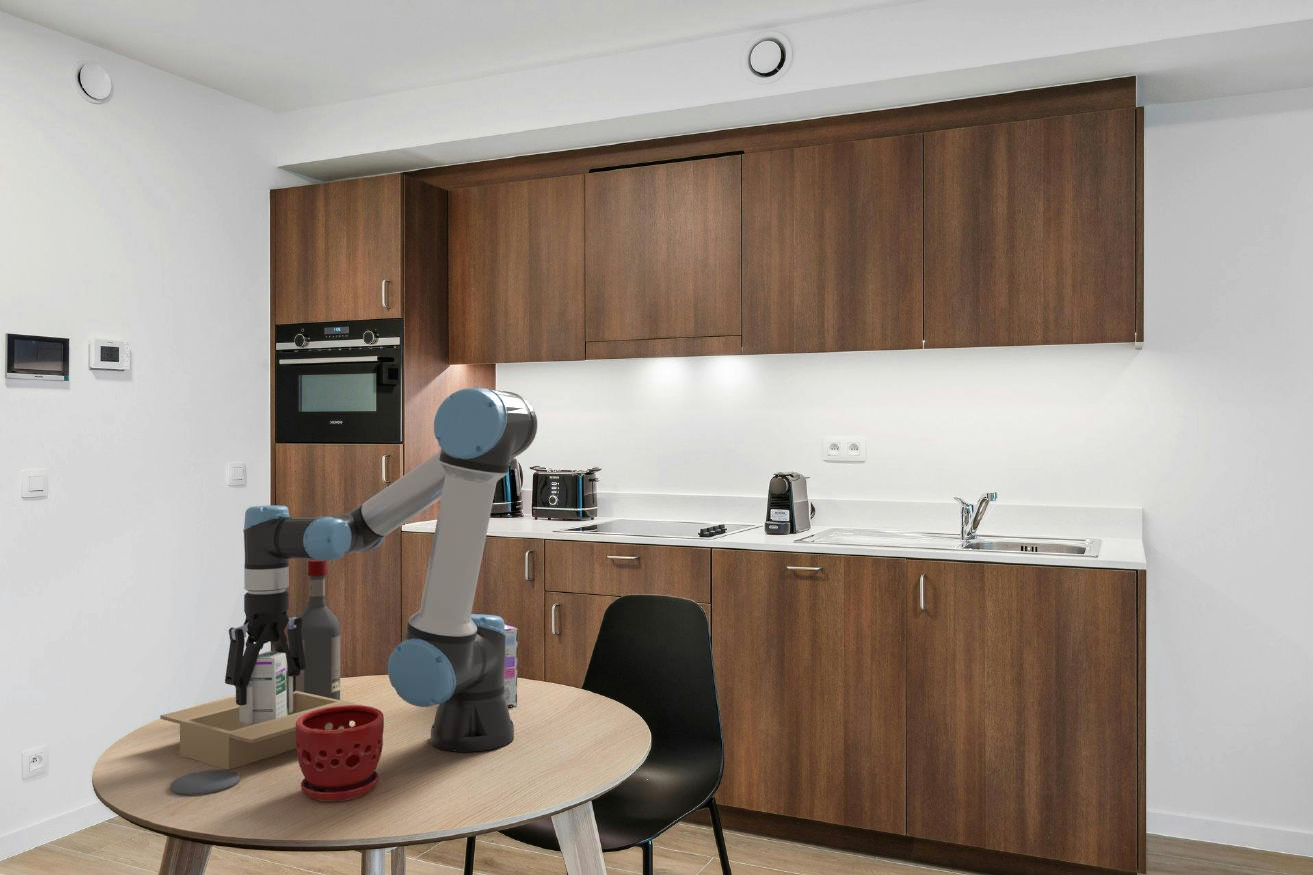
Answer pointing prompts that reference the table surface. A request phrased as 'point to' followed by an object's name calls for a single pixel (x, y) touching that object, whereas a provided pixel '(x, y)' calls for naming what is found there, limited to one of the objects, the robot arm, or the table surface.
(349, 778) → the plant pot
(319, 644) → the liquor
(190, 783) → the coaster
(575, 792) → the table surface
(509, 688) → the candy box
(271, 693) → the syrup box
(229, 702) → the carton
